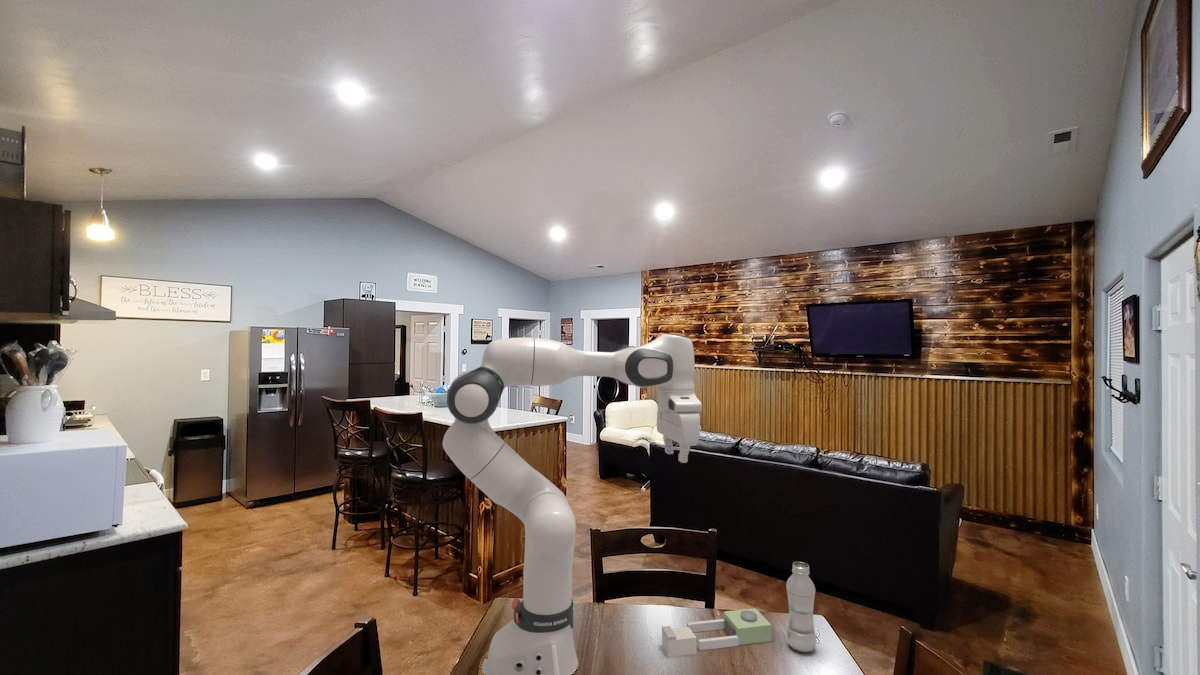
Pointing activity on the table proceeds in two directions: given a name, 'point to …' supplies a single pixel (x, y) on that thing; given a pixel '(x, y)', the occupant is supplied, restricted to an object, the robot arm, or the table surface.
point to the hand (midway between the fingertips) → (675, 457)
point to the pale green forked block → (735, 629)
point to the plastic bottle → (801, 609)
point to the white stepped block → (678, 641)
